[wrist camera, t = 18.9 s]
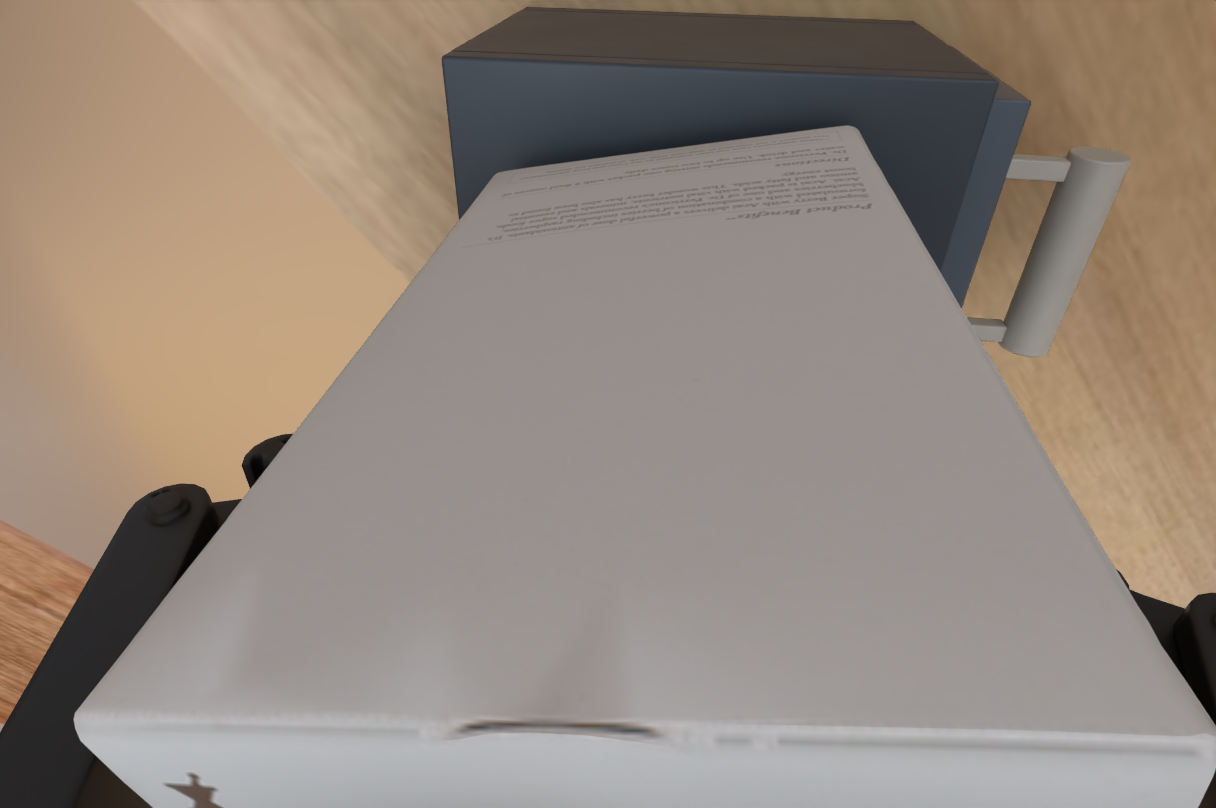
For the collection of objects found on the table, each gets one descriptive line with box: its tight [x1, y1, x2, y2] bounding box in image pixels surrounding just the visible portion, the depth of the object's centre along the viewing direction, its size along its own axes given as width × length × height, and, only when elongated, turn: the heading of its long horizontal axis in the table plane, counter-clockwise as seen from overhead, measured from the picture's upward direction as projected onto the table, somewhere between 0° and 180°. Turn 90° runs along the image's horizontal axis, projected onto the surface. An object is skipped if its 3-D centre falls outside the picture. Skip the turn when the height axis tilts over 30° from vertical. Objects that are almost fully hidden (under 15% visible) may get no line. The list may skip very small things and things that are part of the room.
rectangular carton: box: [74, 125, 1216, 808], centre depth 14 cm, size 9×9×15 cm
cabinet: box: [442, 7, 999, 273], centre depth 25 cm, size 14×12×10 cm
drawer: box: [941, 46, 1131, 357], centre depth 24 cm, size 17×10×8 cm, turn 89°
